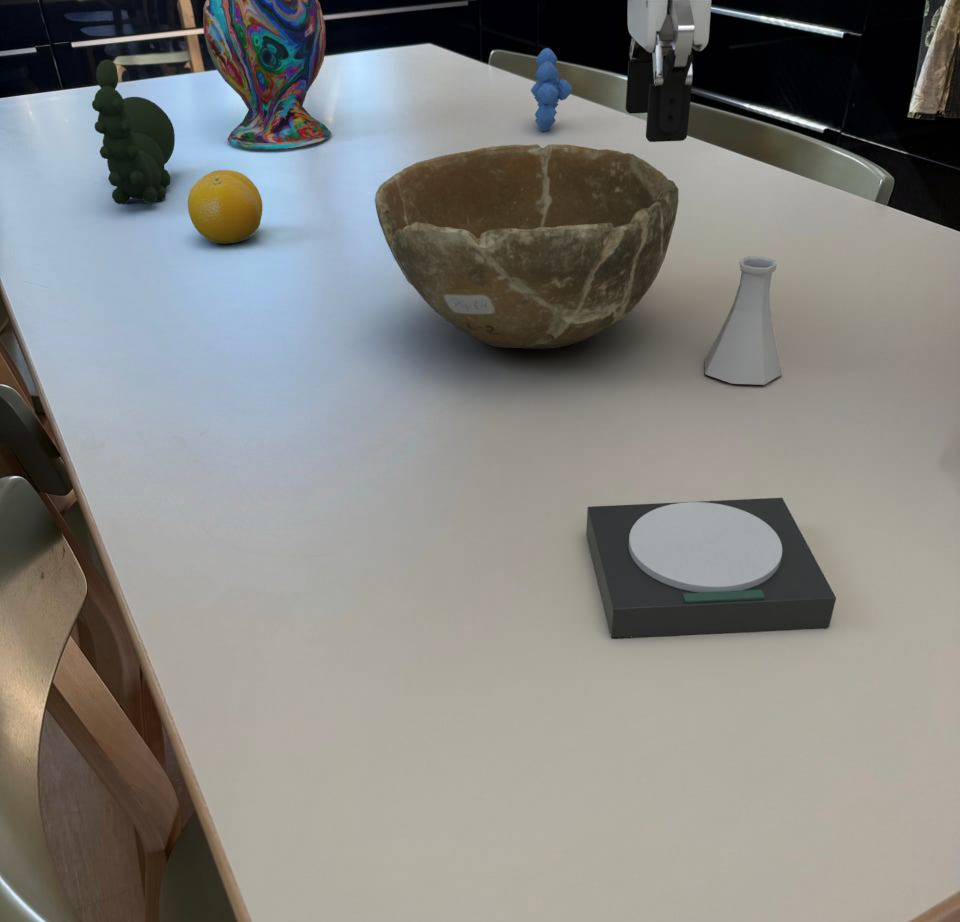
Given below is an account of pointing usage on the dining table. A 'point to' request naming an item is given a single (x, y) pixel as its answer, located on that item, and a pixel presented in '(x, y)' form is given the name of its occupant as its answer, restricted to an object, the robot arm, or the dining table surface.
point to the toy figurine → (132, 140)
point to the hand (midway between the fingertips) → (654, 125)
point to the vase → (269, 66)
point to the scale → (705, 568)
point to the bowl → (529, 238)
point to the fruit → (225, 206)
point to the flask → (747, 330)
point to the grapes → (548, 89)
